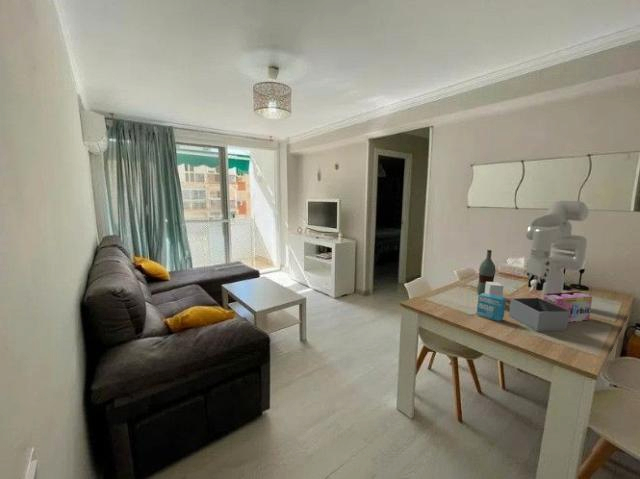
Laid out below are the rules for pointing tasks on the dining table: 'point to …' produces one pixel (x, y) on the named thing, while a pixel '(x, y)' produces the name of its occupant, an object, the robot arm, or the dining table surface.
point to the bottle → (486, 273)
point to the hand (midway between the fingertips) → (535, 288)
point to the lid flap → (533, 284)
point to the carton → (539, 314)
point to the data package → (491, 307)
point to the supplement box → (494, 289)
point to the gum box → (572, 304)
